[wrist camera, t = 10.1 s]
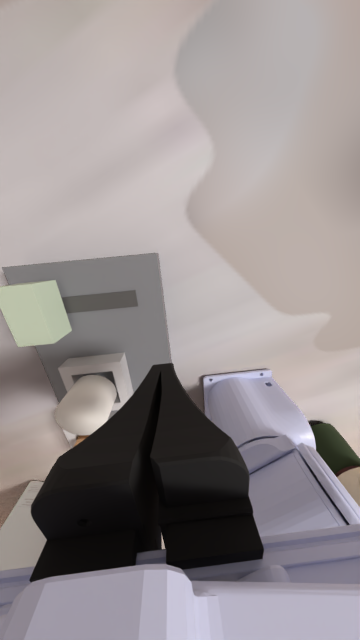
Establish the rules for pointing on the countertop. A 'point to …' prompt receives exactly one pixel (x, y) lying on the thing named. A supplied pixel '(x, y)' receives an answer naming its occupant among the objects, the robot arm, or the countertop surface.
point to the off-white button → (86, 405)
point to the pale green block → (34, 312)
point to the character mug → (338, 457)
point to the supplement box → (21, 533)
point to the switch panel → (104, 322)
